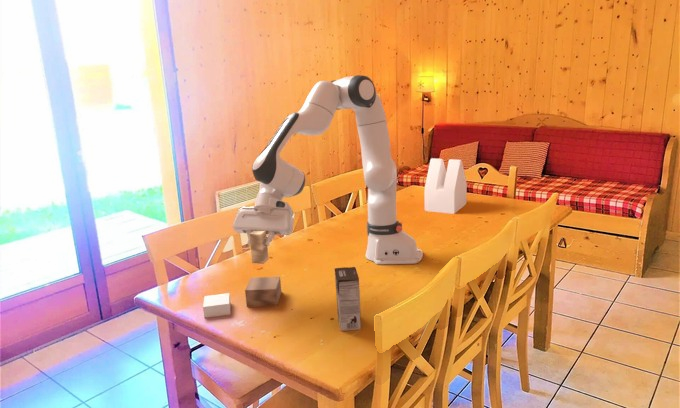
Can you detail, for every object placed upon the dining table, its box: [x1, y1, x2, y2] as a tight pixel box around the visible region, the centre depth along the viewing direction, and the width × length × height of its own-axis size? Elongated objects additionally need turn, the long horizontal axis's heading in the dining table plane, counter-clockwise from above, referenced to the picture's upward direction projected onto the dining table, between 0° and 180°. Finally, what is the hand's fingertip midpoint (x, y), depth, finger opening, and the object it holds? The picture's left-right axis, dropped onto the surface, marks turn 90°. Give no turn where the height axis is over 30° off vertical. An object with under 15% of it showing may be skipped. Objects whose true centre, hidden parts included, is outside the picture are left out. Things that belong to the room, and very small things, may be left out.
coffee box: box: [334, 266, 362, 332], centre depth 153 cm, size 9×6×16 cm
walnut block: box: [244, 276, 282, 308], centre depth 173 cm, size 10×10×6 cm
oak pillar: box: [249, 230, 269, 265], centre depth 169 cm, size 4×4×10 cm
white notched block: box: [423, 157, 468, 215], centre depth 264 cm, size 19×15×25 cm
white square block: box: [202, 292, 232, 319], centre depth 168 cm, size 8×8×4 cm
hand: (258, 245), depth 168 cm, fingers closed on oak pillar, 4 cm apart
